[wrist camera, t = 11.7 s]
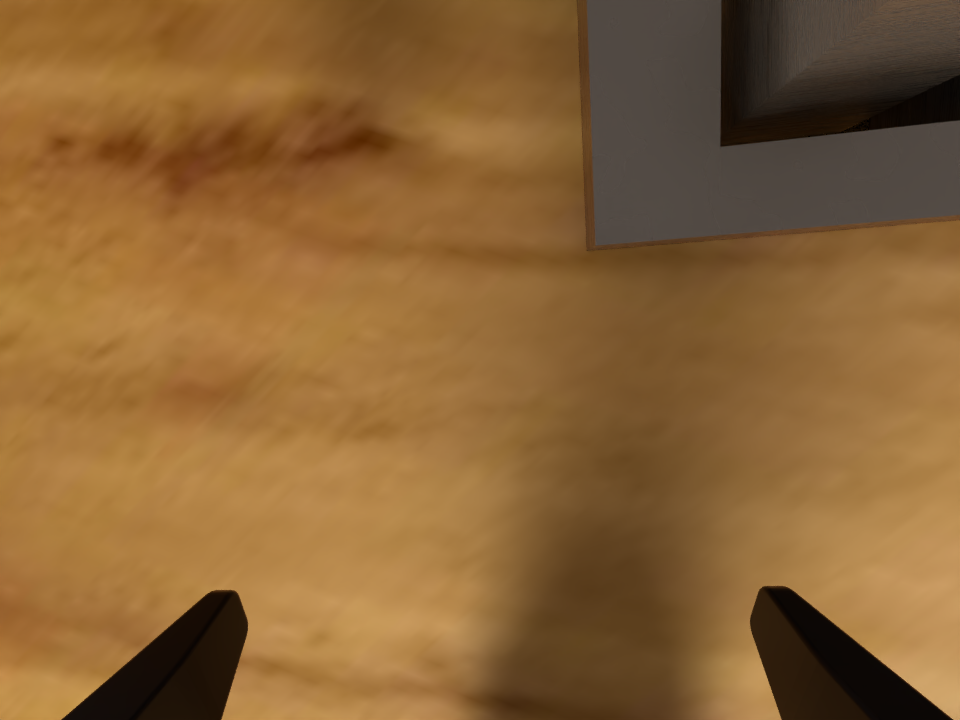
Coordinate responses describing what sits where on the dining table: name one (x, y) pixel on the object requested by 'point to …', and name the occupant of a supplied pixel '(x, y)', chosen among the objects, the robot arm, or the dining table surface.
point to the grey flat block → (740, 168)
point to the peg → (828, 62)
